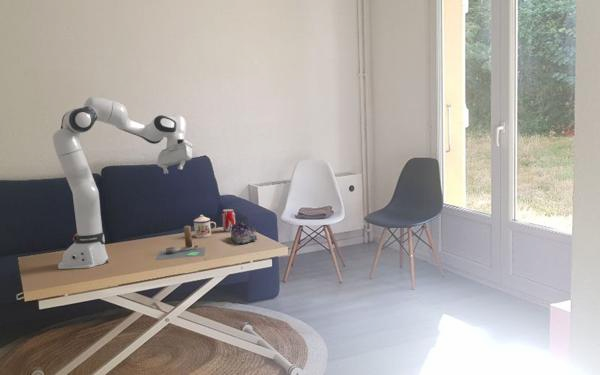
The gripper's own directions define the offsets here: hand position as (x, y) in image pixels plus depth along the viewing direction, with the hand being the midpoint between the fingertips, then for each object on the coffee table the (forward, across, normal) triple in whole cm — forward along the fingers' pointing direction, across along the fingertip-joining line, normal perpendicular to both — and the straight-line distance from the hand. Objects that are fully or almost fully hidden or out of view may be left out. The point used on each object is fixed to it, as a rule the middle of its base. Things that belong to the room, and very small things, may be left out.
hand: (172, 171), depth 282 cm
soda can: (+13, -7, +56) cm, 58 cm away
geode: (+26, +12, +42) cm, 51 cm away
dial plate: (+41, +2, +10) cm, 42 cm away
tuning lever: (+37, 0, +12) cm, 39 cm away
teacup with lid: (+18, -14, +44) cm, 49 cm away
